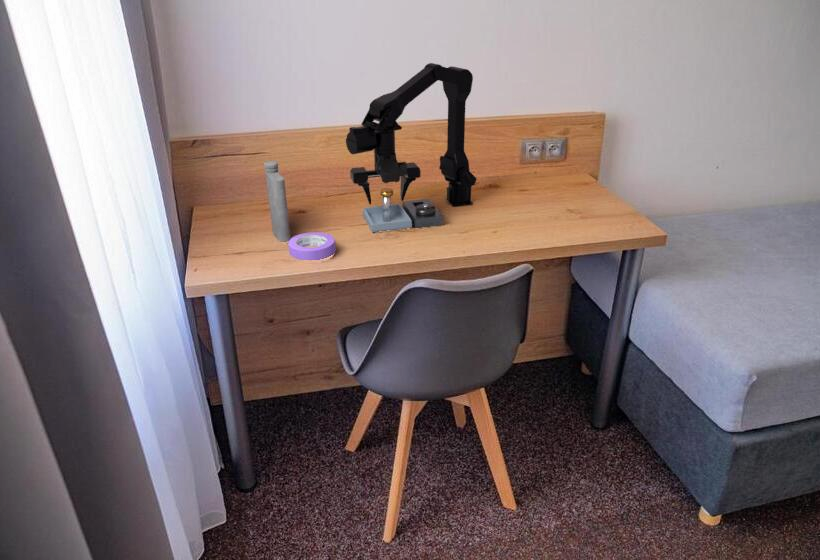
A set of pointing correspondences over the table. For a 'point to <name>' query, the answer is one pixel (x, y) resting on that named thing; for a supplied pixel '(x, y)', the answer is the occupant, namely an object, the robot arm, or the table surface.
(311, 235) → the masking tape
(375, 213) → the tray
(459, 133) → the robot arm
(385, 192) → the lock pin
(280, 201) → the hip flask
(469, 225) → the table surface
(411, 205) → the grey holder base
